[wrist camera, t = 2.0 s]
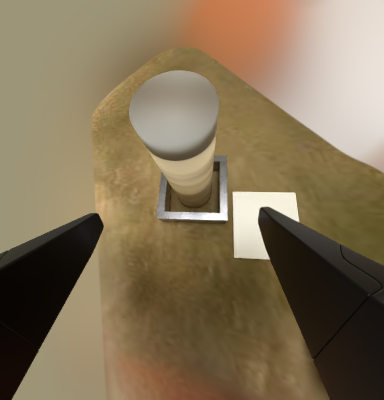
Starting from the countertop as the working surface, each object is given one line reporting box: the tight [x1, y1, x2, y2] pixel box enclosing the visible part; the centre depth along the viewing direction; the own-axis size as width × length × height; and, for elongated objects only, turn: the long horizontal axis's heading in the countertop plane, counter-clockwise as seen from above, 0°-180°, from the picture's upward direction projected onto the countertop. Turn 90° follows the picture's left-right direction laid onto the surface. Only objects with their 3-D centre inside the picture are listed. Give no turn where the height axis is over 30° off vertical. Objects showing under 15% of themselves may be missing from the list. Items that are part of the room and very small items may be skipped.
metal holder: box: [157, 156, 228, 223], centre depth 20 cm, size 8×8×2 cm
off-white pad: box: [232, 192, 299, 259], centre depth 19 cm, size 8×8×1 cm
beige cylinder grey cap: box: [129, 71, 219, 208], centre depth 14 cm, size 4×4×14 cm
